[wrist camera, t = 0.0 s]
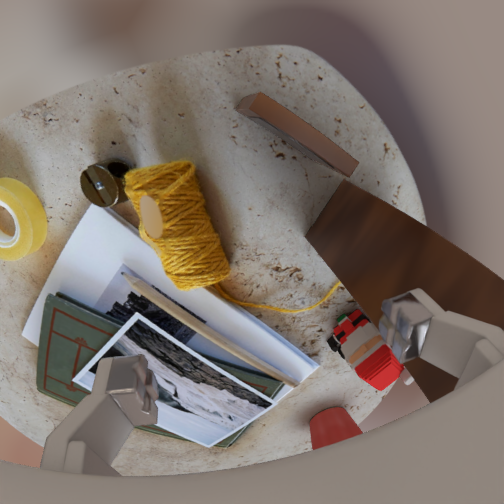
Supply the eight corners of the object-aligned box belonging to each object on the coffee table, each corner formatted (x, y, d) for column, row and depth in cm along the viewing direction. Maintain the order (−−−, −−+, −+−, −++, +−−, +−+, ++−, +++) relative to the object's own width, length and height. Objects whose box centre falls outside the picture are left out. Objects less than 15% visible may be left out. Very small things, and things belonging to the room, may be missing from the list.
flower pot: (327, 433, 57) (342, 468, 48) (291, 428, 53) (304, 468, 44) (361, 405, 54) (380, 441, 45) (326, 398, 50) (345, 440, 41)
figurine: (318, 333, 42) (351, 397, 31) (356, 301, 41) (399, 359, 30) (346, 356, 45) (378, 412, 35) (380, 327, 44) (419, 380, 33)
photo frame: (244, 96, 27) (260, 90, 20) (323, 148, 31) (360, 161, 23) (234, 111, 27) (247, 110, 20) (314, 162, 31) (348, 179, 24)
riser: (343, 178, 32) (589, 357, 6) (391, 217, 36) (581, 375, 9) (304, 236, 35) (478, 479, 8) (356, 267, 38) (508, 457, 11)
